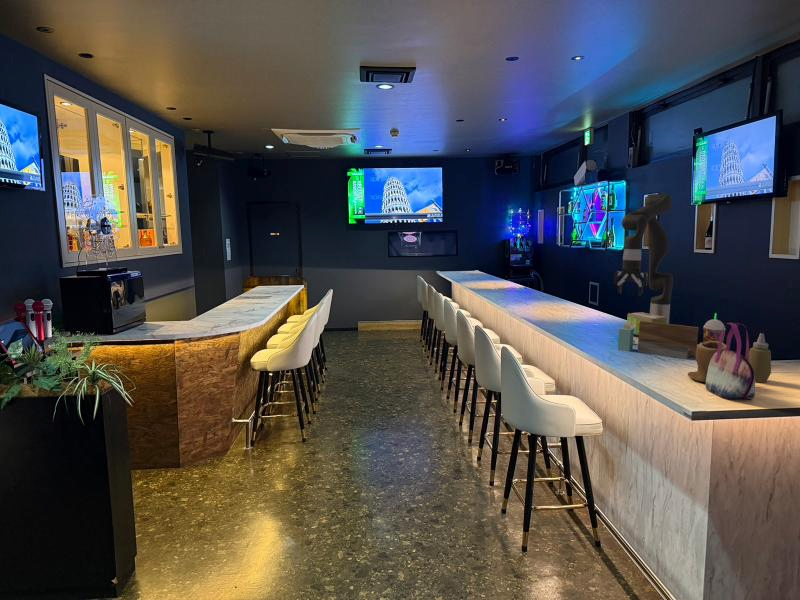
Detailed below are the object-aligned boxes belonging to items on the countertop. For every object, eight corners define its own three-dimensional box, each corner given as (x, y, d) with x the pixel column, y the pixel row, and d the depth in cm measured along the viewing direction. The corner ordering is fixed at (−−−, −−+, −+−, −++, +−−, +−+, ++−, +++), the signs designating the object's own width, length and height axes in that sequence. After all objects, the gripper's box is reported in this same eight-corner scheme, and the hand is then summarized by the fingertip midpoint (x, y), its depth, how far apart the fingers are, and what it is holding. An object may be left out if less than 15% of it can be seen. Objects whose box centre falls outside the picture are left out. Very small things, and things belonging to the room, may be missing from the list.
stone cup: (700, 386, 190) (704, 345, 187) (682, 376, 201) (686, 338, 199) (742, 386, 190) (746, 345, 188) (722, 376, 201) (725, 338, 199)
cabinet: (621, 347, 249) (623, 323, 247) (632, 349, 246) (634, 324, 244) (617, 349, 244) (619, 325, 243) (629, 351, 241) (630, 326, 240)
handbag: (695, 385, 191) (701, 317, 187) (722, 384, 191) (728, 317, 188) (734, 404, 170) (742, 329, 166) (764, 404, 170) (773, 329, 166)
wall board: (638, 347, 249) (640, 320, 247) (696, 355, 234) (698, 327, 232) (633, 351, 241) (635, 323, 240) (691, 360, 226) (694, 330, 225)
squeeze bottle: (770, 385, 191) (776, 336, 189) (744, 381, 195) (749, 334, 193) (769, 379, 198) (774, 333, 195) (743, 376, 202) (748, 330, 200)
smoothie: (702, 359, 228) (706, 314, 225) (699, 355, 235) (703, 311, 233) (724, 361, 225) (728, 315, 222) (720, 356, 232) (725, 312, 230)
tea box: (624, 342, 261) (626, 312, 259) (639, 340, 265) (641, 311, 263) (650, 348, 248) (652, 317, 245) (665, 346, 252) (667, 316, 250)
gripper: (650, 259, 237) (648, 294, 240) (618, 258, 246) (616, 292, 248) (646, 260, 232) (643, 296, 234) (613, 258, 240) (611, 293, 243)
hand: (629, 294), depth 241 cm, fingers open, 8 cm apart
